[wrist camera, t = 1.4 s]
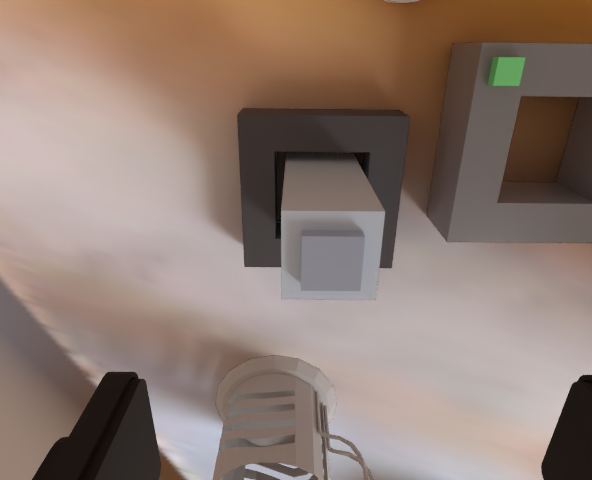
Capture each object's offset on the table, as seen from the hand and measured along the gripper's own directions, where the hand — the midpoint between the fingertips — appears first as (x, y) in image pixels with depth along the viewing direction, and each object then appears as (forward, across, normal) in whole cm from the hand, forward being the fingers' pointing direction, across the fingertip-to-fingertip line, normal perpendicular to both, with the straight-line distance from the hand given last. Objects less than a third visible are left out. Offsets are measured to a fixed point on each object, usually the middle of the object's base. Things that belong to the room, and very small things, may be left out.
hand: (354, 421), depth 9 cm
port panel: (+18, -12, -3) cm, 22 cm away
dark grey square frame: (+18, 0, 0) cm, 18 cm away
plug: (+18, 0, 0) cm, 18 cm away
